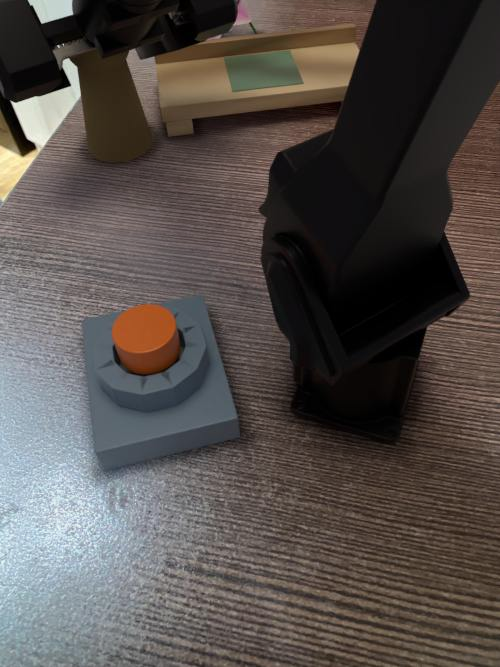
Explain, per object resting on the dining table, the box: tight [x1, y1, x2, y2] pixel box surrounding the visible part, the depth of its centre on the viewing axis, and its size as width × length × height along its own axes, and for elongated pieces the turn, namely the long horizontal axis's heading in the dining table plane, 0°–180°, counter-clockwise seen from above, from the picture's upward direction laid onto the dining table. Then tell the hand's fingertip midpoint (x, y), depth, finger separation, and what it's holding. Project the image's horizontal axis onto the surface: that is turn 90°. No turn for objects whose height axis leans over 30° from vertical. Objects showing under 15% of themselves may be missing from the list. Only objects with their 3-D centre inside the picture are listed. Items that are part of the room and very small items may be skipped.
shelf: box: [153, 23, 360, 138], centre depth 58 cm, size 9×20×4 cm, turn 99°
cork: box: [63, 37, 154, 163], centre depth 51 cm, size 6×6×11 cm
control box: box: [81, 293, 241, 472], centre depth 36 cm, size 10×8×4 cm
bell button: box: [112, 303, 181, 375], centre depth 34 cm, size 4×4×2 cm
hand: (97, 67), depth 51 cm, fingers open, 8 cm apart
